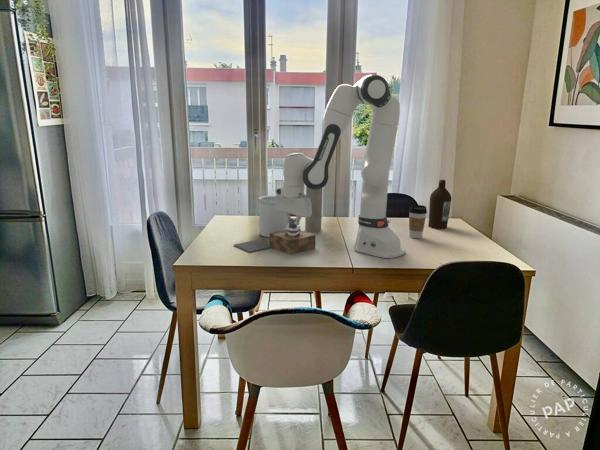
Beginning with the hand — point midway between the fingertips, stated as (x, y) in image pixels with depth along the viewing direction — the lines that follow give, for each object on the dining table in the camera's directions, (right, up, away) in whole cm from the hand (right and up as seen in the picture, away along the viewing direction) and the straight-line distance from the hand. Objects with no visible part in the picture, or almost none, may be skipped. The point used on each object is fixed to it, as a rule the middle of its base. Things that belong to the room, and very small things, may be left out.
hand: (292, 223), depth 184 cm
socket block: (0, -10, +3) cm, 11 cm away
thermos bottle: (+10, -3, +32) cm, 33 cm away
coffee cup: (+59, -7, +23) cm, 63 cm away
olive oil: (+76, -2, +43) cm, 87 cm away
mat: (-17, -10, +2) cm, 20 cm away
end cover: (0, -7, +2) cm, 7 cm away
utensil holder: (-9, -5, +23) cm, 25 cm away
